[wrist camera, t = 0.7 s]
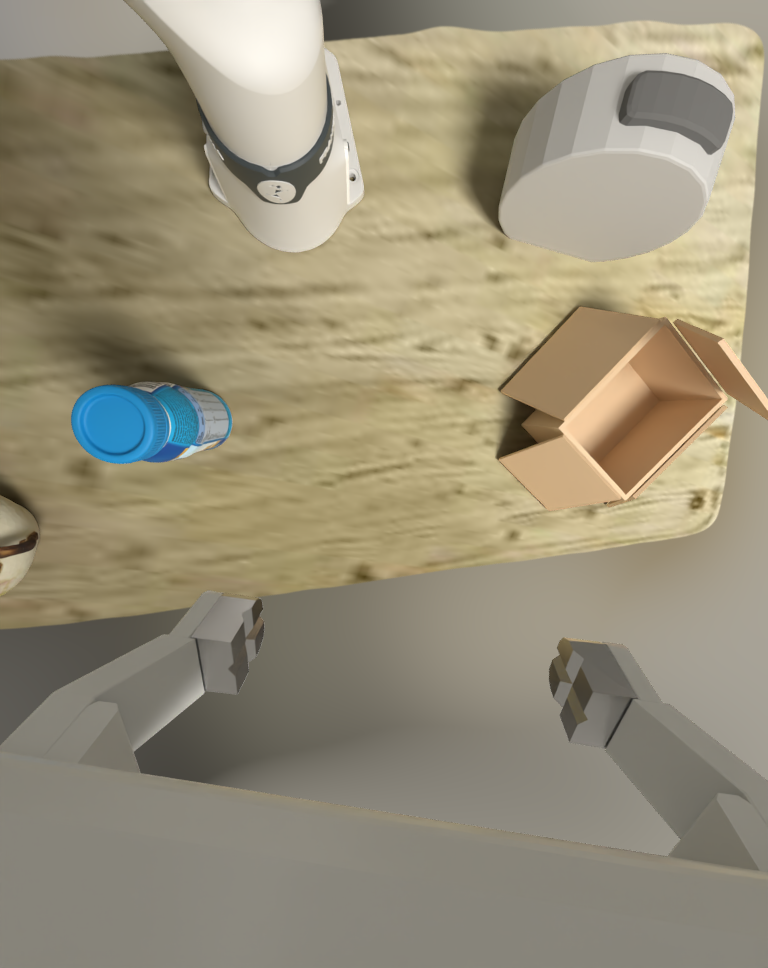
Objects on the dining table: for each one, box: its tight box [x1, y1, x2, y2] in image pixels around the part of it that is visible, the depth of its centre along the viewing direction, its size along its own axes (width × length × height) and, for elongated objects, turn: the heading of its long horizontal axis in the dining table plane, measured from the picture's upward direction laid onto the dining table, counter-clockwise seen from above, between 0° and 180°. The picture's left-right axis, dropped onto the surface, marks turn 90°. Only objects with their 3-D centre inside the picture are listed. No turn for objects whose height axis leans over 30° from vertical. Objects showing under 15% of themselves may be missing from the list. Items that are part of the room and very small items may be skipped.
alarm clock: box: [499, 53, 735, 262], centre depth 40 cm, size 21×8×20 cm, turn 79°
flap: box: [673, 319, 768, 420], centre depth 40 cm, size 1×12×11 cm, turn 45°
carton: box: [499, 306, 728, 511], centre depth 51 cm, size 24×26×10 cm
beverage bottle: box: [71, 381, 232, 464], centre depth 40 cm, size 8×8×20 cm
